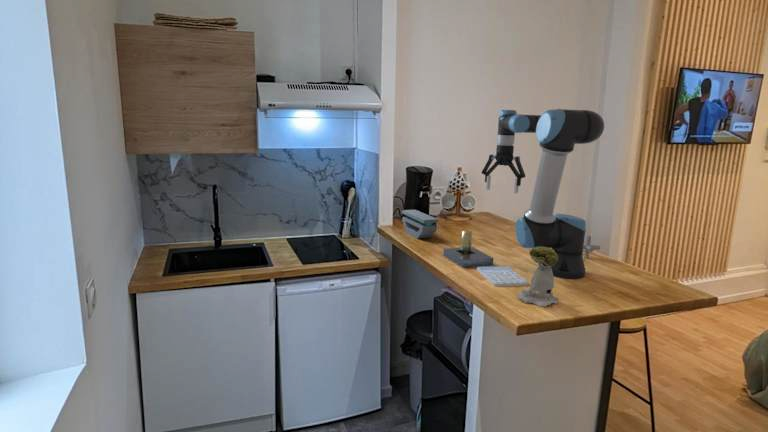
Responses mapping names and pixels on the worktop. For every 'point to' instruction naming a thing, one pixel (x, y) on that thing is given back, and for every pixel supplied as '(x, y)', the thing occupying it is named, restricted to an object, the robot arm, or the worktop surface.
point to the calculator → (502, 276)
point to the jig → (468, 257)
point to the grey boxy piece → (419, 224)
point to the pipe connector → (589, 247)
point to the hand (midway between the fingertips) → (501, 191)
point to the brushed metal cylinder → (466, 242)
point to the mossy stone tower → (541, 278)
